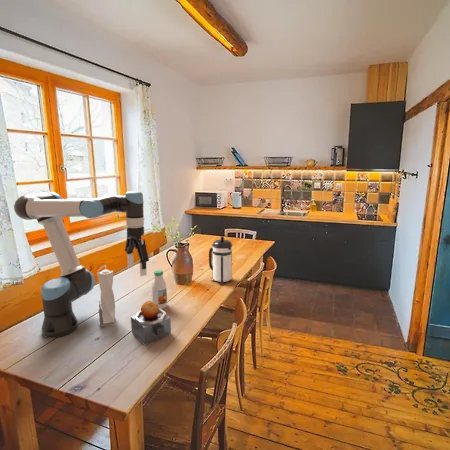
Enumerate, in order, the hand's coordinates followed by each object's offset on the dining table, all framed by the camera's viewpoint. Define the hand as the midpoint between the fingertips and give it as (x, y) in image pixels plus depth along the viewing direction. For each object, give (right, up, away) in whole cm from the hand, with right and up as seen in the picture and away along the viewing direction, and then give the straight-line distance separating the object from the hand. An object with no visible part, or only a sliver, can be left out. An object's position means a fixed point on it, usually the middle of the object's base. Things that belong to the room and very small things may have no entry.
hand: (136, 271), depth 145 cm
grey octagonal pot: (+8, -29, -2) cm, 30 cm away
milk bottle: (+5, -23, +25) cm, 34 cm away
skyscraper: (-17, -26, +10) cm, 33 cm away
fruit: (+7, -21, -3) cm, 22 cm away
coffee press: (+38, -15, +61) cm, 73 cm away
